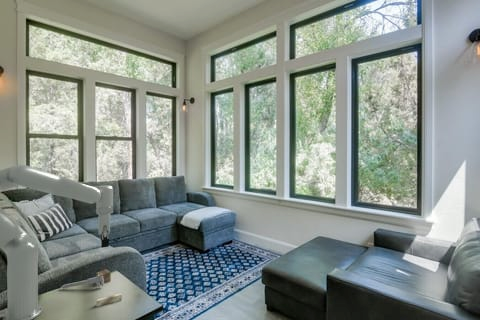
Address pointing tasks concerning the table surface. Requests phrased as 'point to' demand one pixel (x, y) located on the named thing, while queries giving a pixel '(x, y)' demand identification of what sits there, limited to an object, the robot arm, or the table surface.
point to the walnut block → (104, 276)
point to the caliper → (90, 281)
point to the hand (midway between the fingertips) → (104, 244)
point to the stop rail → (109, 299)
